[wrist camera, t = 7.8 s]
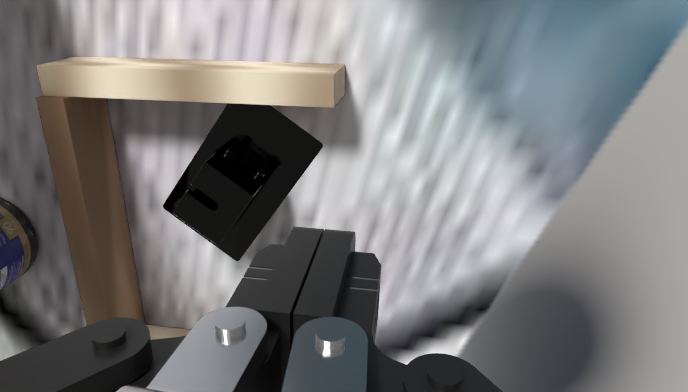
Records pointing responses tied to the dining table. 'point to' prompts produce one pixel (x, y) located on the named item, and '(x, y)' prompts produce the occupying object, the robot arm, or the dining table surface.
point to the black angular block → (241, 175)
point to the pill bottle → (15, 243)
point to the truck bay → (100, 156)
